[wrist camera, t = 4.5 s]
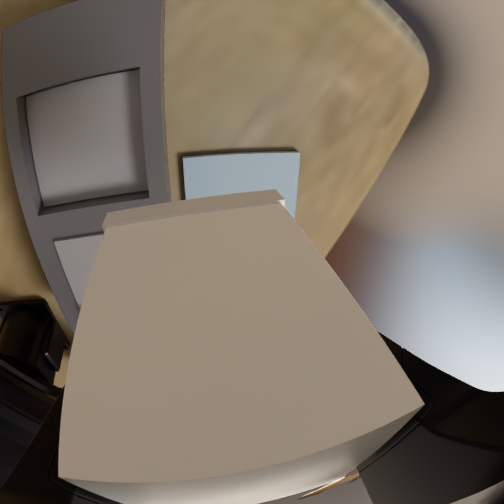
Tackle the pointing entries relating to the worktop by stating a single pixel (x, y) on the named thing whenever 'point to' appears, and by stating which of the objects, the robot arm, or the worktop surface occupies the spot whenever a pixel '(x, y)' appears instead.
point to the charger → (221, 361)
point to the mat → (243, 174)
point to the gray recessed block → (84, 128)
